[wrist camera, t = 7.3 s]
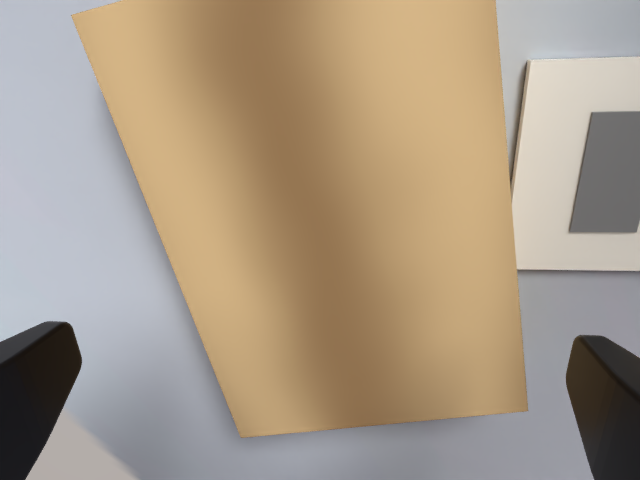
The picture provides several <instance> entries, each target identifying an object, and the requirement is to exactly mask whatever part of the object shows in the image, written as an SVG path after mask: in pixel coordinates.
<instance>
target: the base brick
mask: <svg viewBox="0 0 640 480" xmlns="http://www.w3.org/2000/svg"><path fill="white" fill-rule="evenodd" d="M71 16H72V19H73V21H74V24H75V26H76V29H77V31H78V34H79V36H80V39H81V41H82V44H83V46H84V49H85V51H86V54H87V56H88V59H89V61H90V63H91V66H92V68H93V71H94V73H95V76H96V78H97V81H98V83H99V86H100V88H101V91H102V93H103V96H104V98H105V101H106V103H107V106H108V108H109V111H110V113H111V116H112V118H113V121H114V123H115V126H116V128H117V131H118V133H119V136H120V138H121V141H122V143H123V146H124V148H125V151H126V153H127V156H128V158H129V161H130V163H131V165H132V168H133V170H134V173H135V175H136V178H137V180H138V183H139V185H140V188H141V190H142V193H143V195H144V198H145V200H146V203H147V205H148V208H149V210H150V213H151V215H152V218H153V220H154V223H155V225H156V228H157V230H158V233H159V235H160V238H161V240H162V243H163V245H164V248H165V250H166V253H167V255H168V258H169V260H170V263H171V265H172V268H173V270H174V272H175V275H176V277H177V280H178V282H179V285H180V287H181V290H182V292H183V295H184V297H185V300H186V302H187V305H188V307H189V310H190V312H191V315H192V317H193V320H194V322H195V325H196V327H197V330H198V332H199V335H200V337H201V340H202V342H203V345H204V347H205V350H206V352H207V355H208V357H209V360H210V362H211V365H212V367H213V370H214V372H215V374H216V377H217V379H218V382H219V384H220V387H221V389H222V392H223V394H224V397H225V399H226V402H227V404H228V407H229V409H230V412H231V414H232V417H233V419H234V422H235V424H236V427H237V429H238V432H239V434H240V437H241V438H245V437H256V436H267V435H277V434H288V433H299V432H309V431H320V430H331V429H342V428H352V427H363V426H374V425H384V424H395V423H406V422H416V421H427V420H438V419H449V418H459V417H470V416H481V415H491V414H502V413H513V412H524V411H528V403H527V391H526V378H525V366H524V353H523V340H522V328H521V315H520V303H519V290H518V278H517V265H516V253H515V240H514V227H513V215H512V202H511V190H510V177H509V165H508V152H507V140H506V127H505V114H504V102H503V89H502V77H501V64H500V52H499V39H498V26H497V14H496V1H495V0H123V1H119V2H115V3H112V4H108V5H105V6H101V7H98V8H94V9H91V10H87V11H84V12H80V13H77V14H73V15H71Z"/></svg>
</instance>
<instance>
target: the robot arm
mask: <svg viewBox="0 0 640 480" xmlns="http://www.w3.org/2000/svg"><path fill="white" fill-rule="evenodd" d="M81 365H82V357H81V353H80V350H79V347H78V344H77V340H76V337H75V334H74V330H73V328H72V326H71V325H70V324H69V323H67V322H57V321H48V322H44V323H41V324H39V325H37V326H35V327H32V328H30V329H28V330H26V331H24V332H21V333H19V334H17V335H15V336H13V337H10V338H8V339H6V340H4V341H2V342H0V480H25V479H26V477H27V476H28V474H29V472H30V470H31V469H32V467H33V465H34V464H35V462H36V460H37V458H38V457H39V455H40V453H41V451H42V450H43V448H44V446H45V444H46V442H47V440H48V438H49V436H50V434H51V432H52V430H53V428H54V426H55V424H56V422H57V419H58V417H59V415H60V413H61V411H62V409H63V406H64V404H65V402H66V400H67V398H68V396H69V393H70V391H71V389H72V387H73V385H74V383H75V380H76V378H77V376H78V374H79V372H80V369H81ZM566 385H567V390H568V393H569V397H570V400H571V404H572V407H573V411H574V414H575V418H576V421H577V424H578V428H579V431H580V435H581V438H582V442H583V445H584V449H585V452H586V456H587V459H588V462H589V466H590V469H591V472H592V475H593V477H594V480H640V358H639V357H637V356H636V355H634V354H632V353H631V352H629V351H627V350H626V349H624V348H622V347H621V346H619V345H617V344H616V343H614V342H612V341H611V340H609V339H608V338H606V337H604V336H596V335H579V336H577V337H576V338H575V340H574V341H573V345H572V350H571V354H570V359H569V363H568V368H567V373H566Z"/></svg>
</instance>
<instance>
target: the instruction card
mask: <svg viewBox="0 0 640 480" xmlns="http://www.w3.org/2000/svg"><path fill="white" fill-rule="evenodd" d="M511 202H512V215H513V227H514V240H515V253H516V265H517V269H533V270H607V271H640V56H637V57H604V58H570V59H537V60H528V62H527V70H526V77H525V85H524V92H523V100H522V108H521V115H520V123H519V130H518V138H517V146H516V153H515V161H514V169H513V176H512V184H511Z"/></svg>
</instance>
